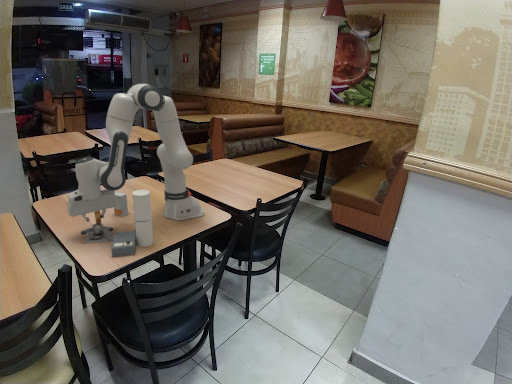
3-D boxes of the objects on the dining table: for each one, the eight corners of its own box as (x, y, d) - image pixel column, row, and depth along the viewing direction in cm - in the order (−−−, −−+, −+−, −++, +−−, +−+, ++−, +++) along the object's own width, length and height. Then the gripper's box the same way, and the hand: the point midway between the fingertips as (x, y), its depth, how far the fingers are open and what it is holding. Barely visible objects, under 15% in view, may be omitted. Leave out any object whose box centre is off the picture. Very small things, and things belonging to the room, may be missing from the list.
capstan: (114, 226, 151) (112, 209, 147) (114, 238, 141) (112, 219, 137) (84, 230, 146) (81, 212, 142) (81, 242, 136) (78, 223, 132)
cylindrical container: (133, 244, 138) (128, 193, 129) (144, 237, 144) (140, 188, 135) (146, 248, 135) (142, 196, 126) (156, 241, 142) (153, 191, 133)
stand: (136, 228, 152) (135, 218, 149) (135, 254, 130) (134, 242, 128) (88, 232, 145) (87, 222, 143) (78, 260, 124) (76, 248, 122)
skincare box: (114, 214, 164) (111, 194, 160) (119, 211, 168) (117, 191, 164) (123, 216, 162) (120, 196, 158) (128, 213, 166) (126, 193, 162)
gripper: (111, 186, 148) (115, 211, 153) (63, 195, 135) (69, 222, 140) (116, 189, 143) (119, 216, 148) (67, 199, 130) (72, 228, 135)
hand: (94, 219), depth 144 cm, fingers open, 5 cm apart
